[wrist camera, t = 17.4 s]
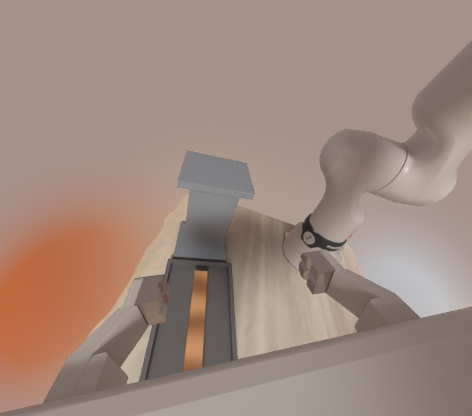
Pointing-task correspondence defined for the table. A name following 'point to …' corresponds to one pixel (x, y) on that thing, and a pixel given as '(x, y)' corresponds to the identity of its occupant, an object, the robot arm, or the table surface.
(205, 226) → the stand
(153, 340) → the tray
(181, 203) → the table surface
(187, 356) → the bar
